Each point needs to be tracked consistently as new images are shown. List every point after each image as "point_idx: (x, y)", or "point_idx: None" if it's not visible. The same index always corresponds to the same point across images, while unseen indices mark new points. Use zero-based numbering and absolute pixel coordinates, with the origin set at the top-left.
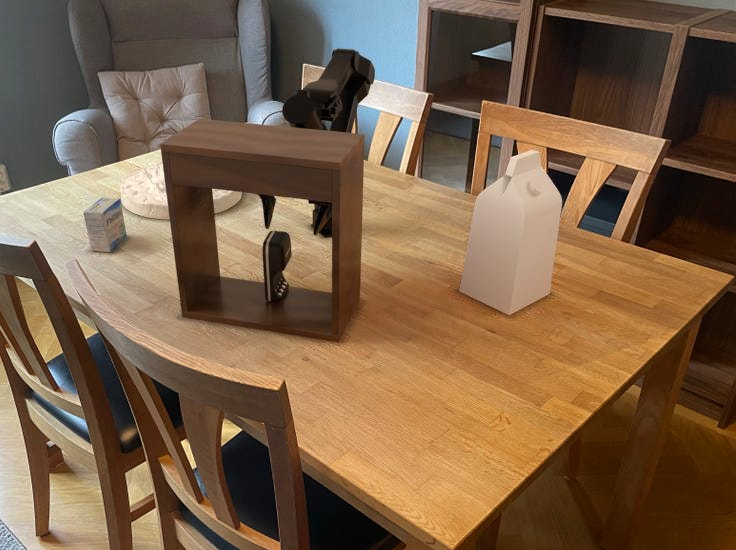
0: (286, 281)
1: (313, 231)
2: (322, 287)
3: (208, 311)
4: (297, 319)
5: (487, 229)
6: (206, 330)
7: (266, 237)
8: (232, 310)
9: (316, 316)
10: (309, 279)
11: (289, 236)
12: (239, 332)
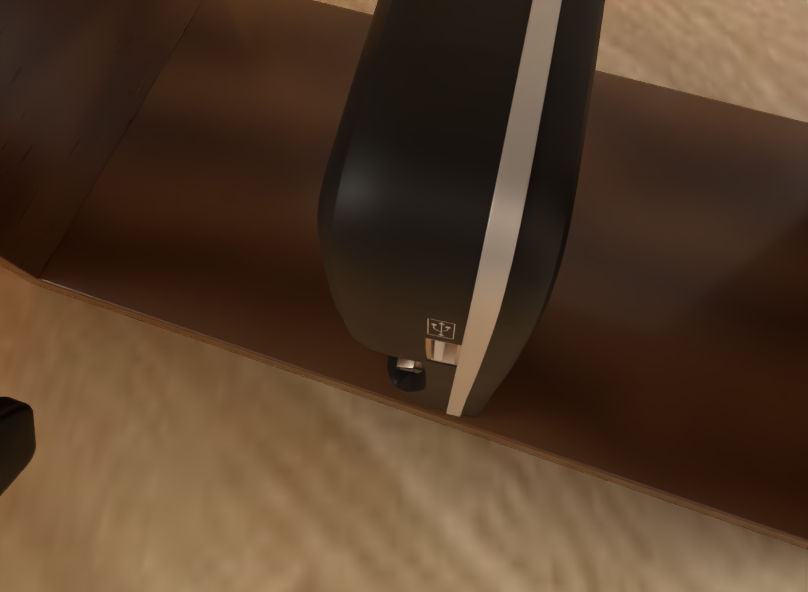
0: (400, 385)
1: (12, 408)
2: (193, 456)
3: (790, 145)
4: (350, 78)
5: None
6: (749, 71)
7: (589, 22)
8: (670, 153)
9: (262, 100)
10: (259, 570)
11: (322, 185)
12: (601, 57)
